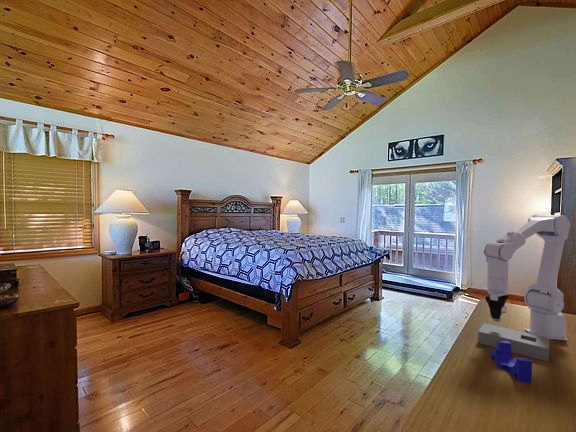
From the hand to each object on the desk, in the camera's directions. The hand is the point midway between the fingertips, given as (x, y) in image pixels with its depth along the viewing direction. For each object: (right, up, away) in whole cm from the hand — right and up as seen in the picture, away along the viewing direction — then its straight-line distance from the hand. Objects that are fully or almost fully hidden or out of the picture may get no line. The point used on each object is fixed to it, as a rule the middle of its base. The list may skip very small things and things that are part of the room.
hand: (496, 316), depth 101 cm
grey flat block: (+3, -9, -3) cm, 10 cm away
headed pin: (0, -1, 0) cm, 1 cm away
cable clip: (-9, -10, -17) cm, 21 cm away
